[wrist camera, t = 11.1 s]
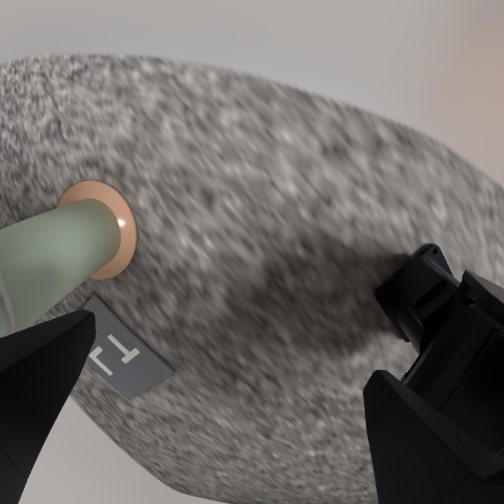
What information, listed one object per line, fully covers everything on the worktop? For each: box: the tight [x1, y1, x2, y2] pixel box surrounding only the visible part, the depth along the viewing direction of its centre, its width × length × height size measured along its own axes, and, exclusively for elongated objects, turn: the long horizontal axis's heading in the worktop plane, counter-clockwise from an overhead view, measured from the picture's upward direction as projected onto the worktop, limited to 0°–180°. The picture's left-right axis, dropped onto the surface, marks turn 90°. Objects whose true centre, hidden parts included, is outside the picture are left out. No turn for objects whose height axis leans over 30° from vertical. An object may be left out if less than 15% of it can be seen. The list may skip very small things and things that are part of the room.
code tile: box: [82, 293, 175, 400], centre depth 25 cm, size 10×8×1 cm
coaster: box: [57, 180, 138, 280], centre depth 21 cm, size 8×8×1 cm
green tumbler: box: [0, 198, 121, 338], centre depth 15 cm, size 6×6×12 cm
